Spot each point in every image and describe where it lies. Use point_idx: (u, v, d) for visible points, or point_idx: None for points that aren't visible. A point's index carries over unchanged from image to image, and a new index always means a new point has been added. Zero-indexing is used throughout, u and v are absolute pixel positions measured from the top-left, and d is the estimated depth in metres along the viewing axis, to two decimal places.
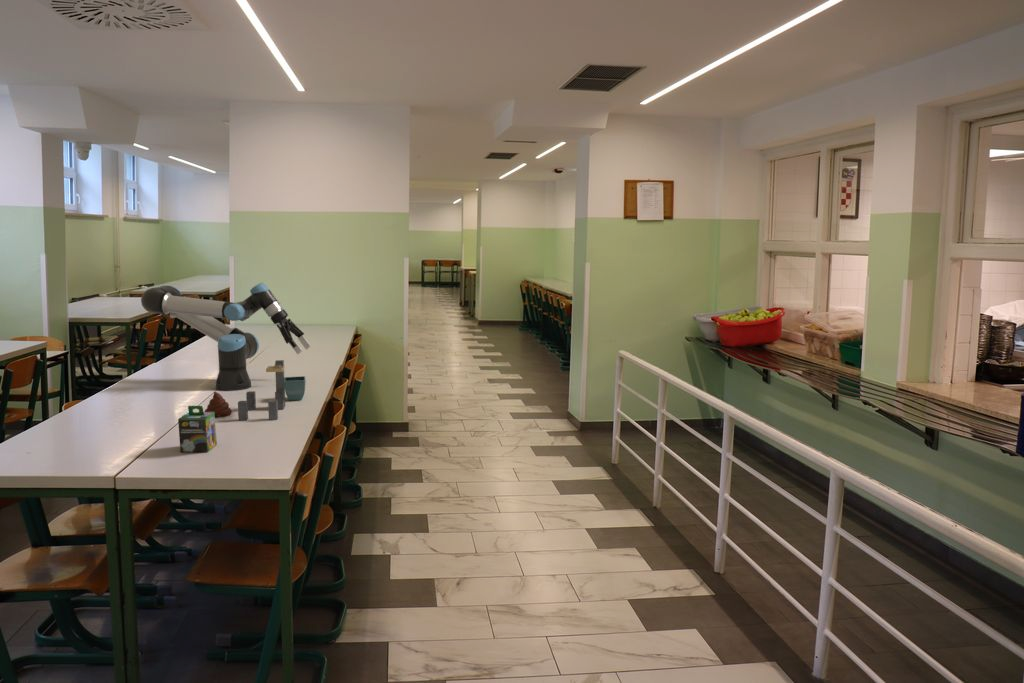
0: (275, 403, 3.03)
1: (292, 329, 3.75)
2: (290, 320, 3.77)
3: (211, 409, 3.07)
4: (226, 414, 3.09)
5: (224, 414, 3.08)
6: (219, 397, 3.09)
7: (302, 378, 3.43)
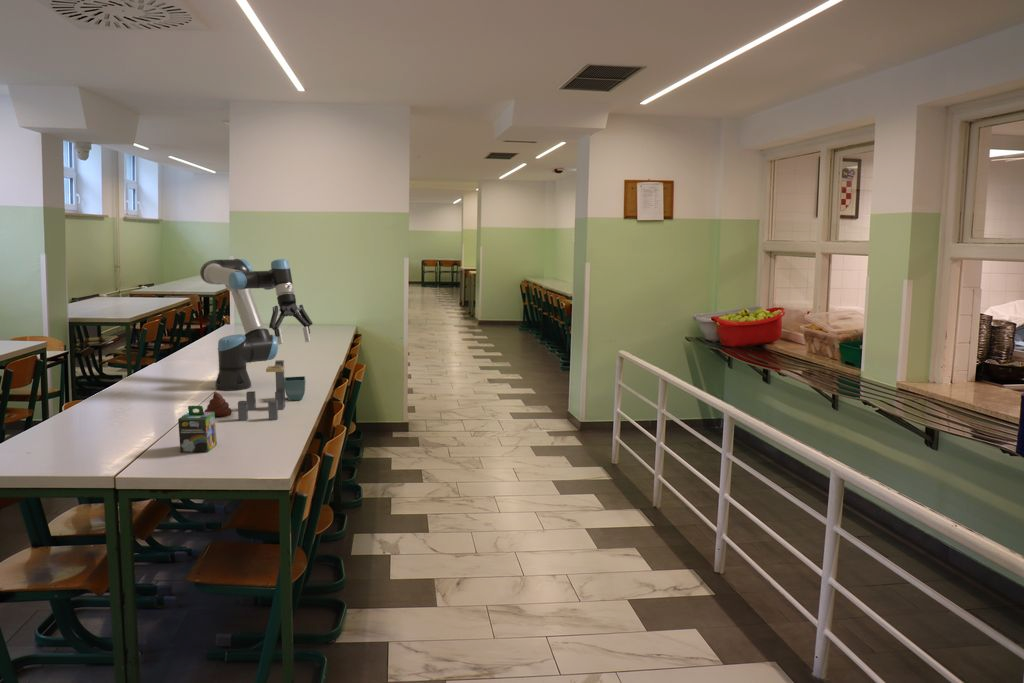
0: (275, 403, 3.03)
1: (297, 316, 3.48)
2: (301, 307, 3.50)
3: (211, 409, 3.07)
4: (226, 414, 3.08)
5: (224, 414, 3.08)
6: (219, 397, 3.09)
7: (302, 378, 3.43)
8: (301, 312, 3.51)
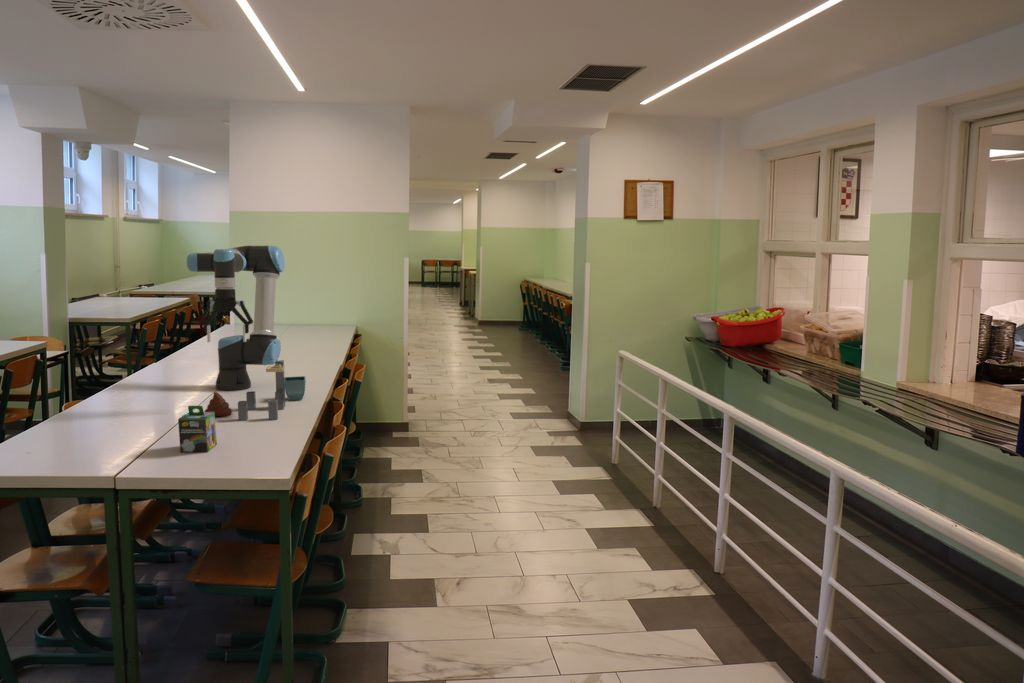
0: (275, 403, 3.03)
1: (235, 313, 3.19)
2: (241, 303, 3.18)
3: (211, 409, 3.07)
4: (226, 414, 3.08)
5: (224, 414, 3.08)
6: (219, 397, 3.08)
7: (302, 378, 3.43)
8: (242, 308, 3.19)
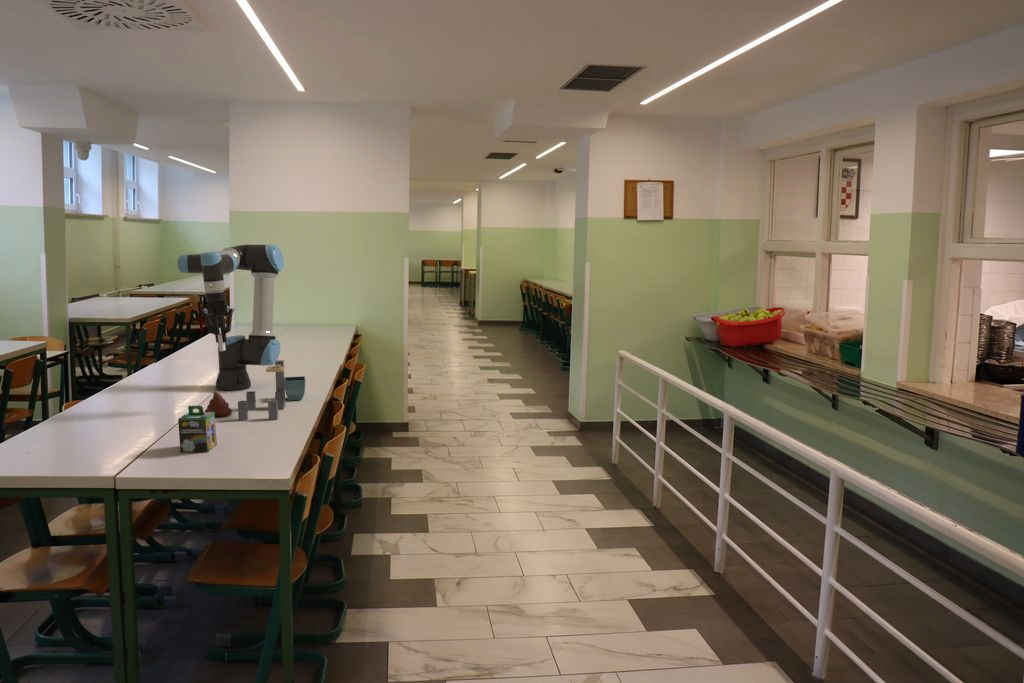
0: (275, 403, 3.03)
1: None
2: (230, 311, 3.14)
3: (211, 409, 3.07)
4: (226, 414, 3.08)
5: (224, 414, 3.08)
6: (219, 397, 3.08)
7: (302, 378, 3.43)
8: None
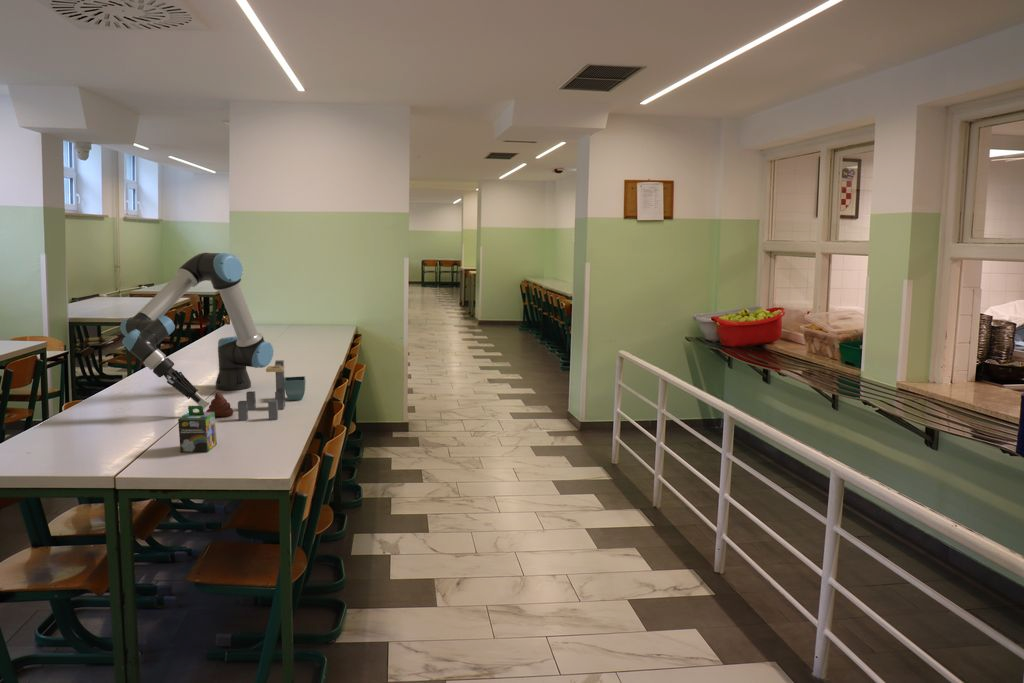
0: (275, 403, 3.03)
1: None
2: None
3: (213, 409, 3.06)
4: (227, 414, 3.08)
5: (225, 414, 3.07)
6: (221, 397, 3.08)
7: (302, 378, 3.43)
8: None
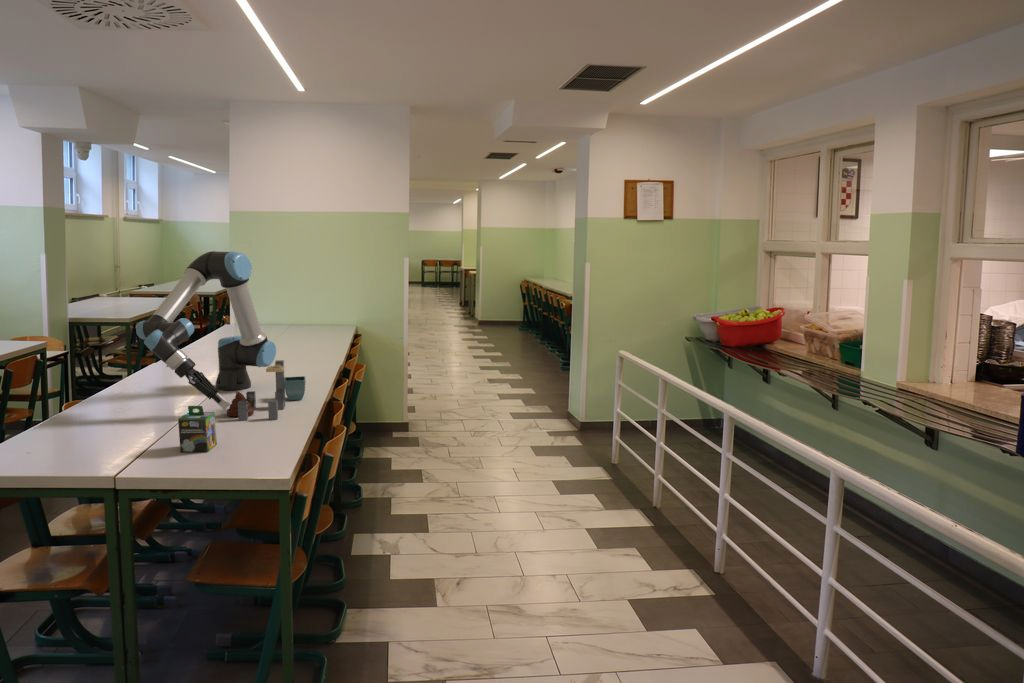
0: (275, 403, 3.03)
1: None
2: (190, 383, 3.01)
3: (233, 409, 3.07)
4: None
5: None
6: (241, 397, 3.09)
7: (302, 378, 3.43)
8: None
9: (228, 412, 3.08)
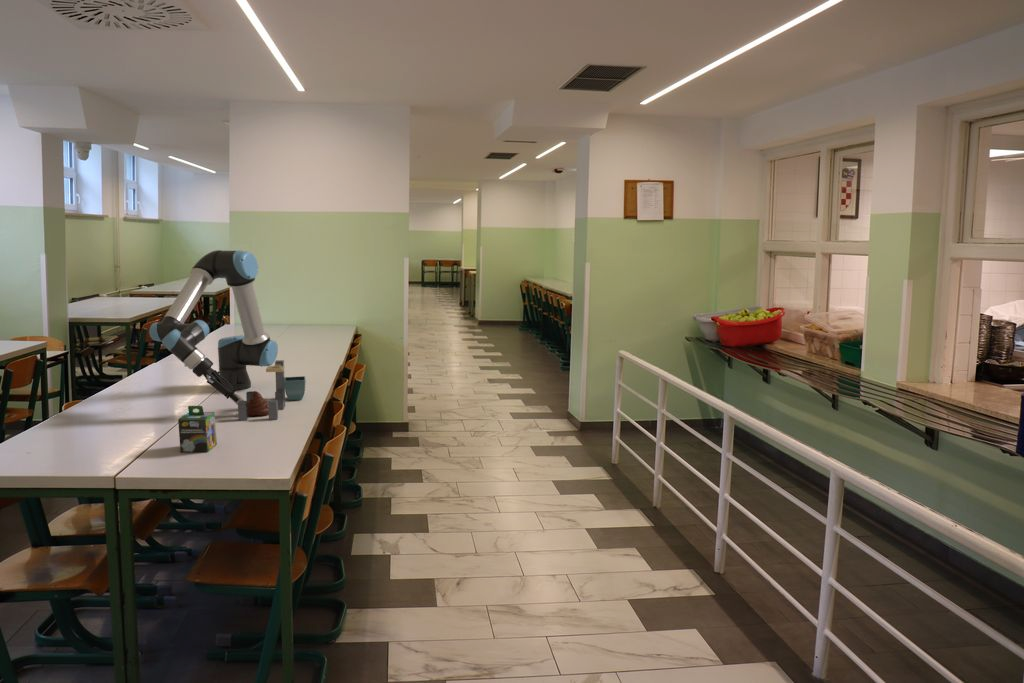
0: (275, 403, 3.03)
1: None
2: (208, 382, 3.02)
3: (251, 408, 3.09)
4: (265, 413, 3.10)
5: (263, 413, 3.09)
6: (258, 396, 3.10)
7: (302, 378, 3.43)
8: None
9: None
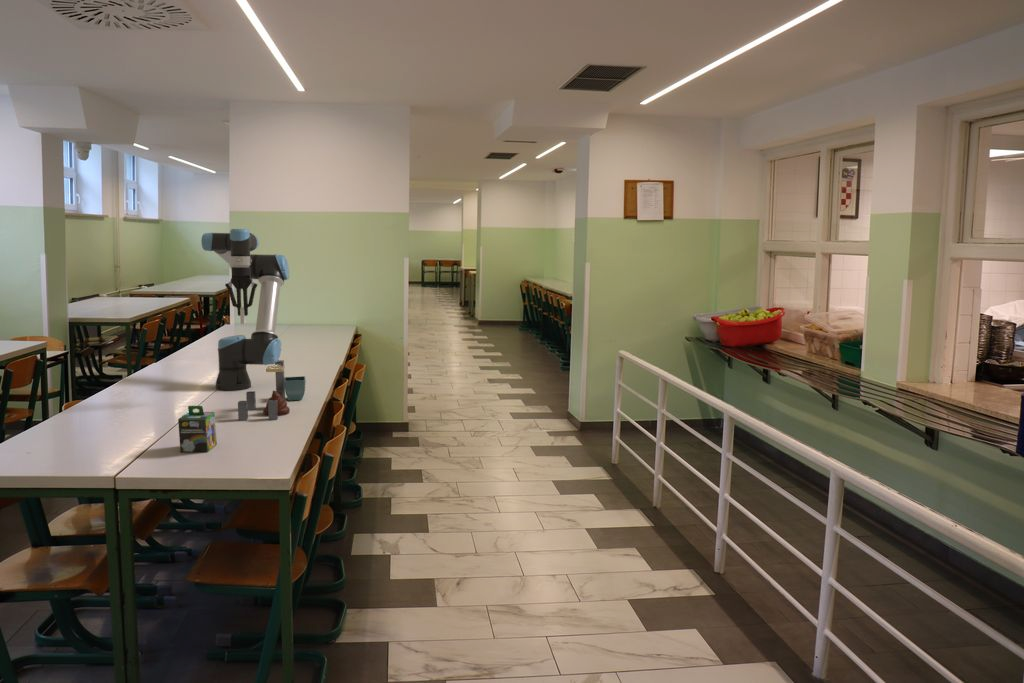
0: (275, 403, 3.03)
1: None
2: (254, 285, 3.30)
3: None
4: (284, 413, 3.12)
5: (282, 413, 3.11)
6: (278, 396, 3.12)
7: (302, 378, 3.43)
8: None
9: (265, 411, 3.11)
